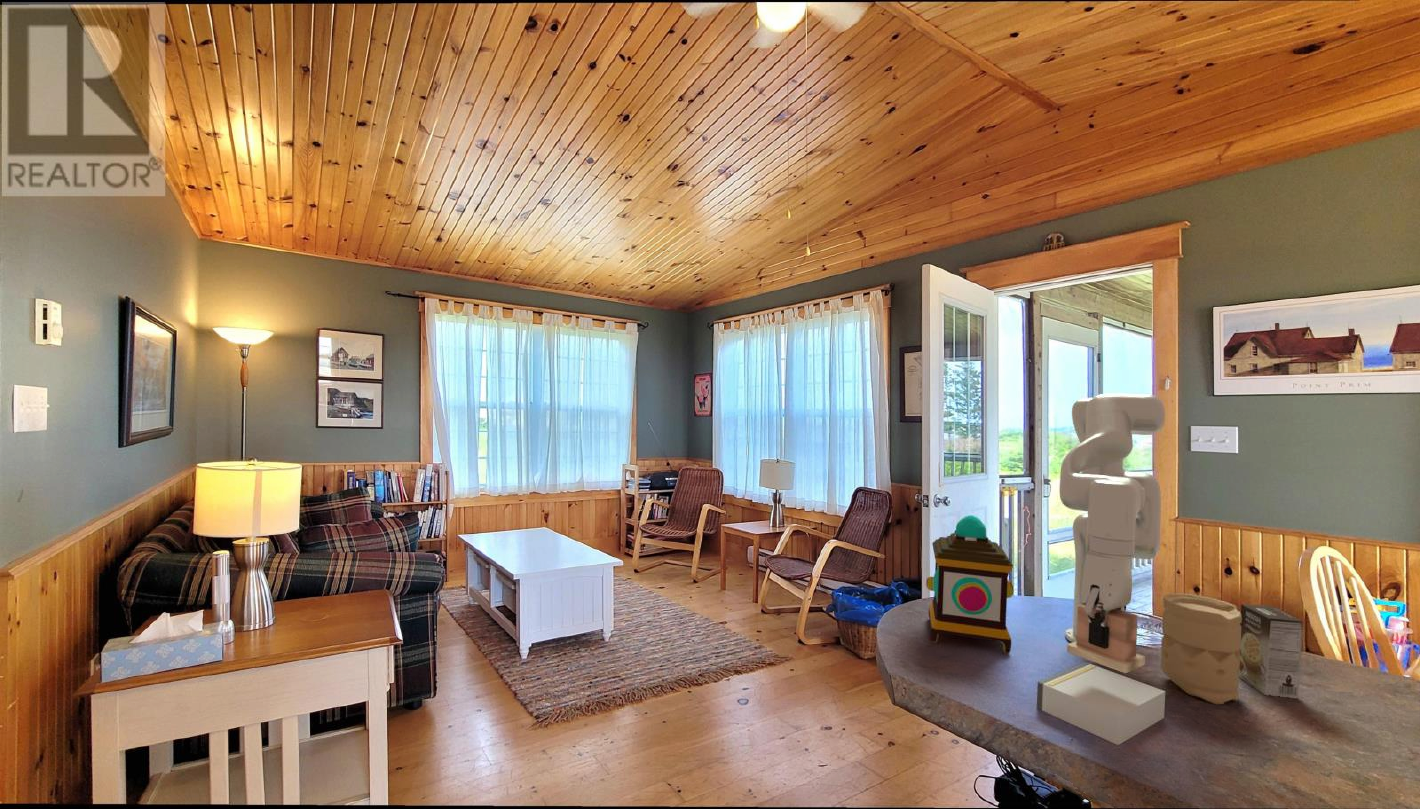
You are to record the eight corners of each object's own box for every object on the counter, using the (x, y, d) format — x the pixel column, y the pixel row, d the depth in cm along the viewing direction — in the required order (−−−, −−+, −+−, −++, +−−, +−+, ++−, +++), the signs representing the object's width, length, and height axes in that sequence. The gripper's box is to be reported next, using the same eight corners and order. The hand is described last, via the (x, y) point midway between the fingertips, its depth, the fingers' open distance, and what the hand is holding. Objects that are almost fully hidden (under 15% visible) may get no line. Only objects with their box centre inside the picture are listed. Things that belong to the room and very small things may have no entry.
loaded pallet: (1087, 644, 119) (1089, 599, 119) (1145, 664, 111) (1147, 615, 111) (1066, 652, 115) (1068, 605, 115) (1125, 673, 107) (1127, 622, 107)
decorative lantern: (923, 616, 162) (927, 505, 162) (1004, 627, 156) (1009, 511, 155) (925, 644, 143) (930, 518, 143) (1018, 658, 137) (1023, 527, 136)
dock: (1084, 685, 124) (1085, 661, 124) (1164, 717, 113) (1165, 690, 112) (1036, 707, 115) (1037, 681, 115) (1118, 745, 103) (1119, 715, 103)
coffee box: (1235, 675, 132) (1238, 602, 132) (1269, 679, 131) (1272, 605, 130) (1264, 695, 123) (1268, 617, 123) (1301, 699, 122) (1305, 620, 121)
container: (1245, 693, 123) (1249, 606, 123) (1228, 711, 116) (1232, 618, 116) (1170, 670, 133) (1174, 589, 133) (1150, 685, 126) (1154, 599, 126)
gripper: (1110, 537, 120) (1106, 628, 121) (1065, 546, 111) (1061, 644, 111) (1153, 546, 114) (1149, 641, 114) (1109, 555, 105) (1105, 659, 105)
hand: (1105, 641), depth 113 cm, fingers closed on loaded pallet, 5 cm apart
